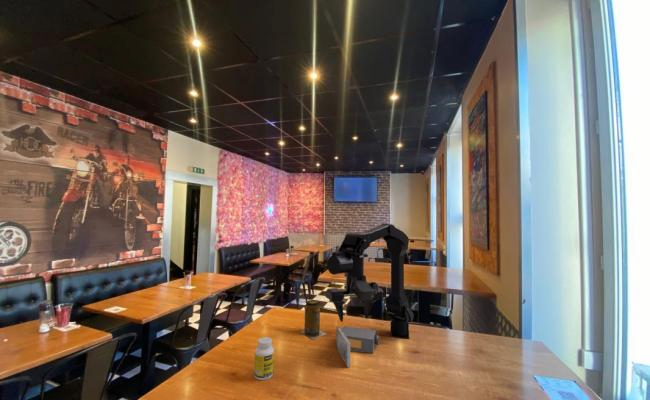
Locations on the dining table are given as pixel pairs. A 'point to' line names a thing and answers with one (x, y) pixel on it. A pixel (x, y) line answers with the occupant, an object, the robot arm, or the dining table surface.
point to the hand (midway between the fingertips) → (354, 319)
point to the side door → (343, 347)
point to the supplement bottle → (264, 359)
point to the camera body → (360, 338)
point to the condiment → (312, 320)
